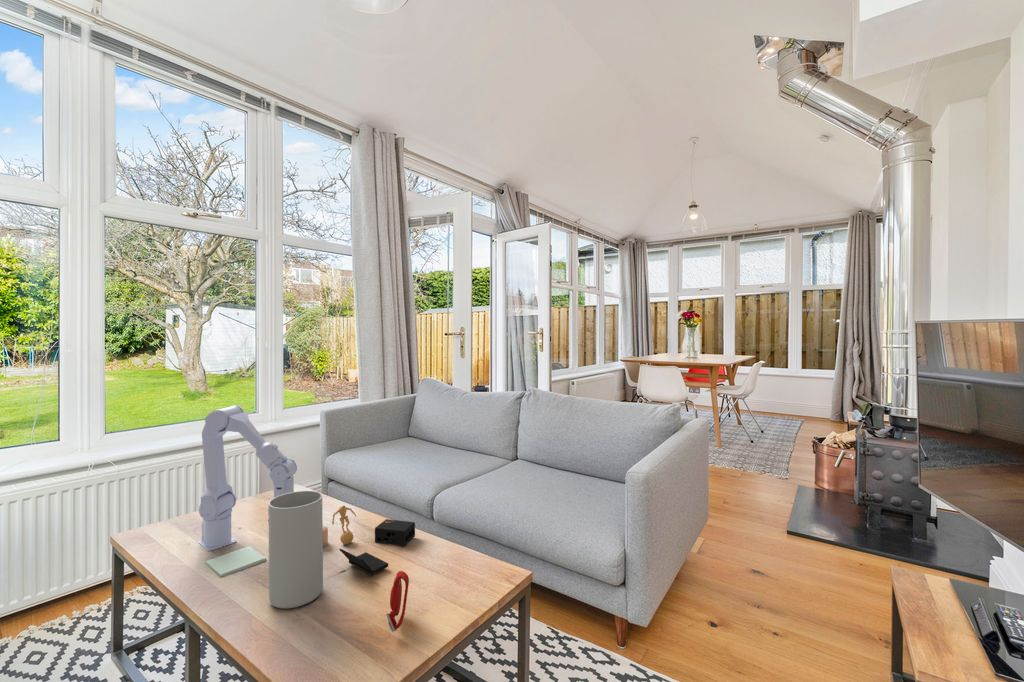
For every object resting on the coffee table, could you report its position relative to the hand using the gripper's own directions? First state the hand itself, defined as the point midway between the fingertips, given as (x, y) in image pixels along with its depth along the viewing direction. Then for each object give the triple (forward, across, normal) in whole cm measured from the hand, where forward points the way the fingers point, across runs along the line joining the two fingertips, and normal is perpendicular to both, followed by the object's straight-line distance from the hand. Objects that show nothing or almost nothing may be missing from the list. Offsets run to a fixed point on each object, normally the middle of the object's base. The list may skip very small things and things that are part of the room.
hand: (284, 540), depth 142 cm
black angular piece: (+2, +34, +6) cm, 35 cm away
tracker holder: (+2, +59, -9) cm, 60 cm away
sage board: (+1, -2, -14) cm, 14 cm away
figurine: (+2, +16, +11) cm, 19 cm away
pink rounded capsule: (+2, +10, +6) cm, 11 cm away
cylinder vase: (+2, +29, -15) cm, 33 cm away
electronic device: (+2, +28, +21) cm, 35 cm away
